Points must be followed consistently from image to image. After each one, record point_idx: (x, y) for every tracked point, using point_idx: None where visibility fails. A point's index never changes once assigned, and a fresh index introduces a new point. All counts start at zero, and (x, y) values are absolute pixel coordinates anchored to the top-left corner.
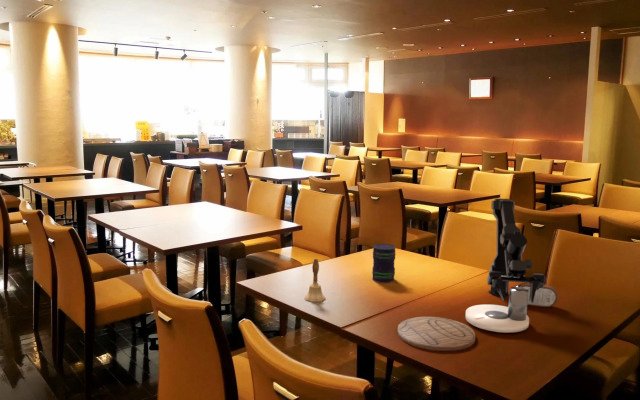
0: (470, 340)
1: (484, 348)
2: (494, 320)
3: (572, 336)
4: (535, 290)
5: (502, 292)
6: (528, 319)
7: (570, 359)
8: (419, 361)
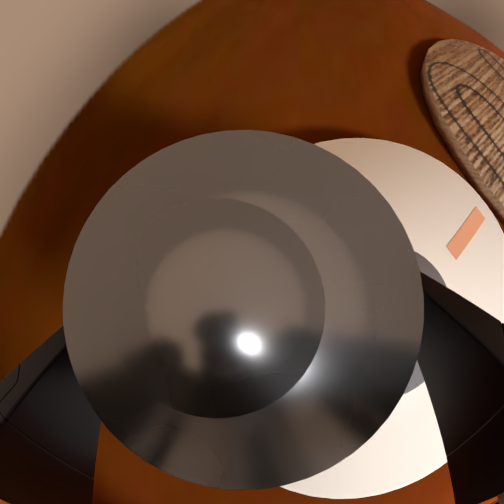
0: (430, 63)
1: (382, 57)
2: (401, 216)
3: (44, 248)
4: (4, 378)
5: (470, 308)
6: None
7: (127, 64)
8: (467, 25)
